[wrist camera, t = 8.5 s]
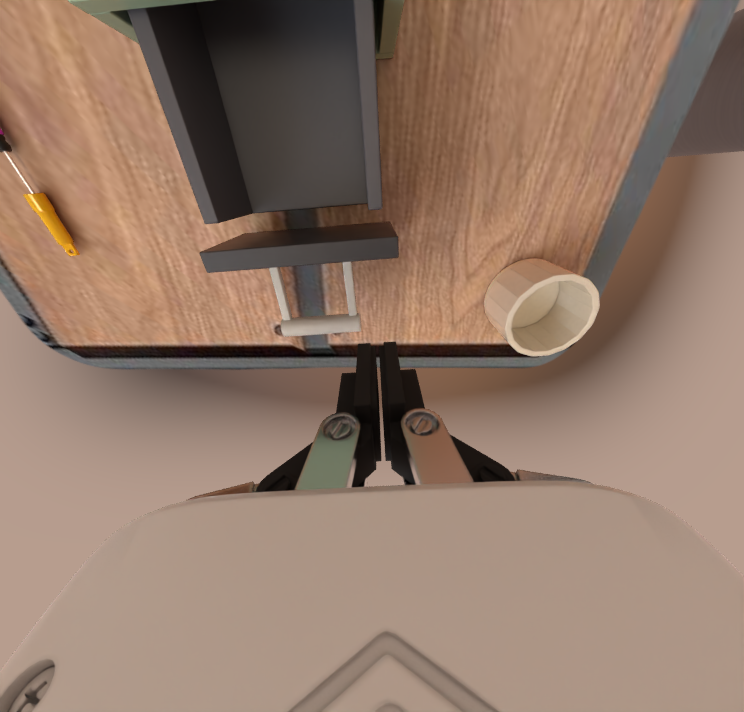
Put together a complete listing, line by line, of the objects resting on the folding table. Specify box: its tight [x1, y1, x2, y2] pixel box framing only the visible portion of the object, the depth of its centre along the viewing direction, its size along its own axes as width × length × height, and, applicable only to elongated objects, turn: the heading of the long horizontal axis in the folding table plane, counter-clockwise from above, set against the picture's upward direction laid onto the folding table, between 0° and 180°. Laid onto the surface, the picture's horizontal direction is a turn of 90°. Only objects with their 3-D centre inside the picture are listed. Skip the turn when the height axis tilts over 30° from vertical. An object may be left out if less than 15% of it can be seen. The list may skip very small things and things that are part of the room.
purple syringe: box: [0, 128, 80, 256], centre depth 19 cm, size 3×1×16 cm
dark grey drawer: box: [127, 0, 399, 337], centre depth 17 cm, size 19×12×7 cm, turn 4°
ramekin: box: [484, 258, 599, 356], centre depth 24 cm, size 7×7×5 cm
